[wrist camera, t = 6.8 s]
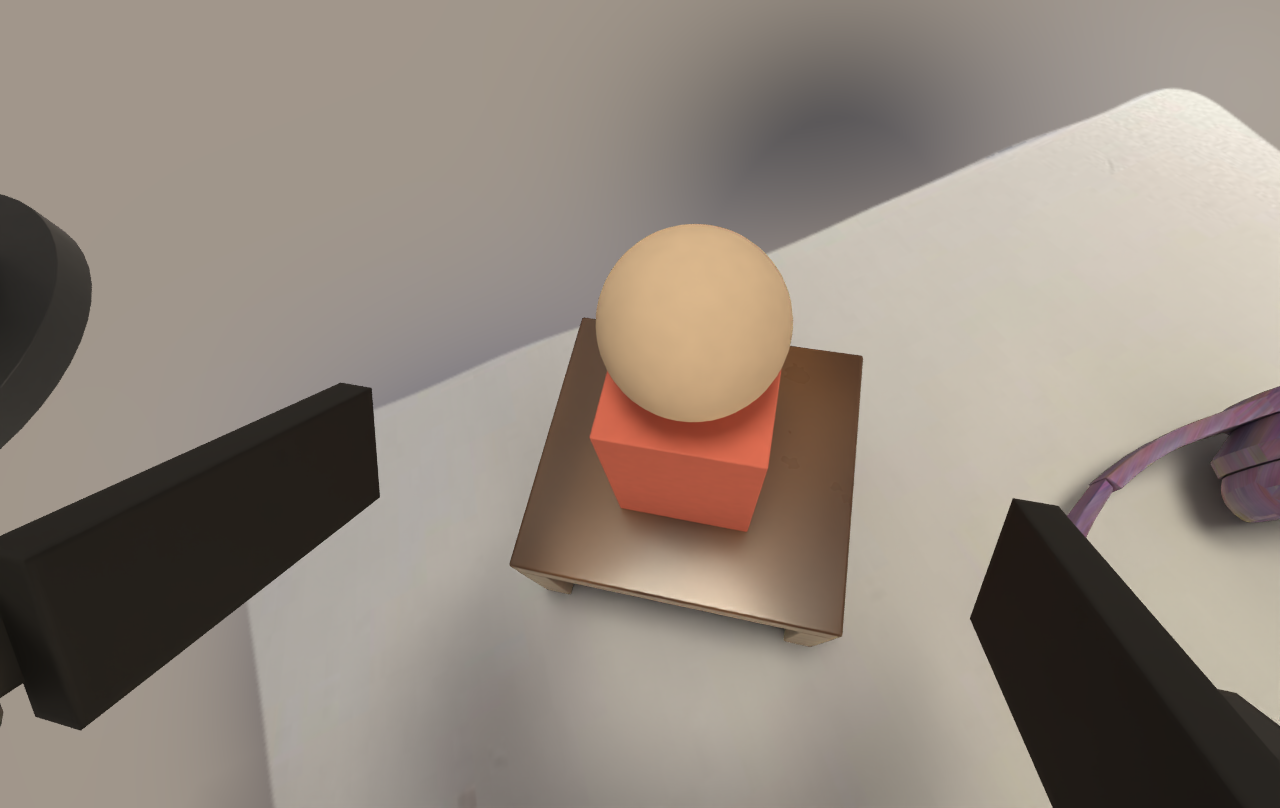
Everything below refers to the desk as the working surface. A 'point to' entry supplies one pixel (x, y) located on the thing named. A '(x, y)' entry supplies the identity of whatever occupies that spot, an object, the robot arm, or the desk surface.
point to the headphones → (1247, 461)
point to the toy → (691, 374)
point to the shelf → (699, 553)
